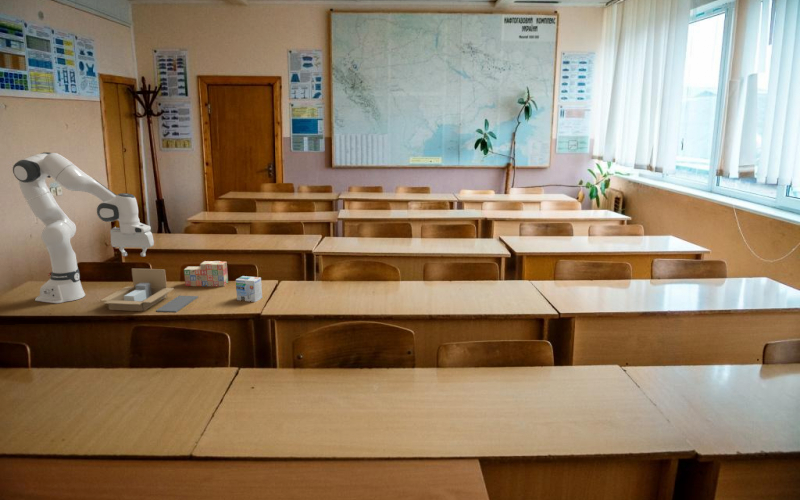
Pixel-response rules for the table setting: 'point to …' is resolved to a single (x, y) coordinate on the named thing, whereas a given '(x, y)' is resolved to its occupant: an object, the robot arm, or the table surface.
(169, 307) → the mat
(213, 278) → the stack of blocks
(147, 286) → the box
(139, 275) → the carton
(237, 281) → the light bulb box
